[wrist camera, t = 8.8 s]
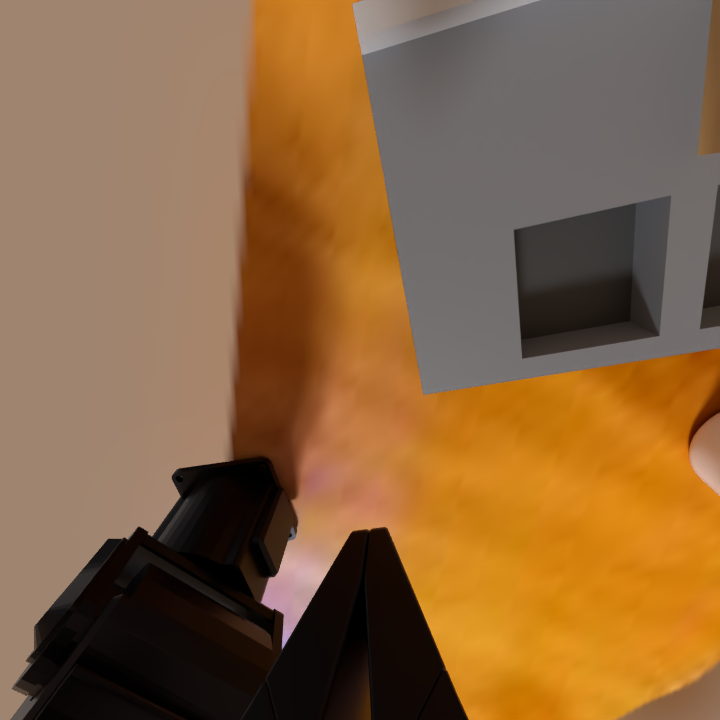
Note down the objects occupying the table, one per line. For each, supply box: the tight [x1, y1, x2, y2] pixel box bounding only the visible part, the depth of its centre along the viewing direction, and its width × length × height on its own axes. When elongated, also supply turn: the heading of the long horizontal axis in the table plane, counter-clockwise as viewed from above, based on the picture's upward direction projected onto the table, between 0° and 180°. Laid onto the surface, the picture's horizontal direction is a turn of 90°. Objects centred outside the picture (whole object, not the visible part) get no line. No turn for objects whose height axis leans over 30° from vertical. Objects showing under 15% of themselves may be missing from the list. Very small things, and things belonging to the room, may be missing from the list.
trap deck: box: [352, 0, 720, 395], centre depth 14 cm, size 18×14×4 cm
